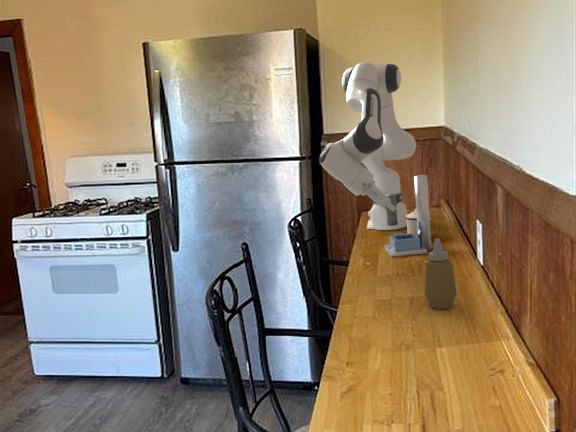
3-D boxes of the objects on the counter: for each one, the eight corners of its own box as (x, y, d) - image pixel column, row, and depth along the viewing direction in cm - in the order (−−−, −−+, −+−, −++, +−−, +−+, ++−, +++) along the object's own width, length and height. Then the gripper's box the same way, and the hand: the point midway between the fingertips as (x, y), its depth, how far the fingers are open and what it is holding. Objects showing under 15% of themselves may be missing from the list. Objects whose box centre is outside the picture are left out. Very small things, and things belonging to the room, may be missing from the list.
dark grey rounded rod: (386, 224, 199) (384, 194, 197) (396, 222, 199) (394, 193, 197) (388, 226, 196) (386, 196, 194) (398, 225, 196) (396, 195, 194)
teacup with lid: (432, 240, 222) (430, 210, 219) (407, 242, 224) (405, 211, 221) (431, 233, 233) (429, 204, 231) (407, 234, 235) (405, 205, 233)
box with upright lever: (381, 244, 224) (376, 175, 219) (422, 240, 224) (418, 171, 219) (391, 256, 206) (385, 182, 201) (435, 252, 206) (431, 177, 201)
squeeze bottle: (426, 312, 151) (422, 243, 148) (424, 301, 159) (419, 236, 156) (459, 310, 150) (455, 241, 147) (455, 300, 158) (451, 234, 155)
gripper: (372, 179, 184) (406, 206, 186) (363, 170, 204) (393, 195, 206) (359, 194, 185) (393, 222, 187) (351, 185, 205) (381, 209, 207)
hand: (393, 208), depth 197 cm, fingers closed on dark grey rounded rod, 3 cm apart
